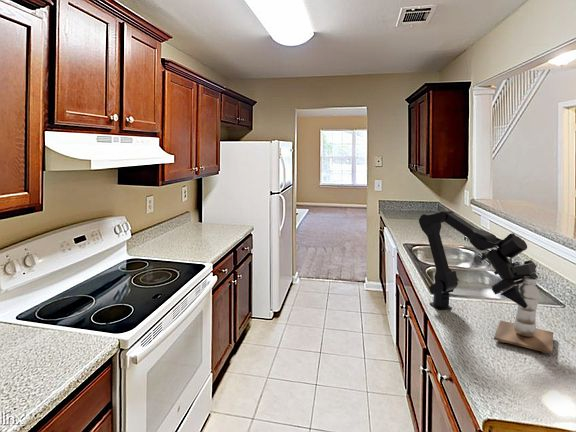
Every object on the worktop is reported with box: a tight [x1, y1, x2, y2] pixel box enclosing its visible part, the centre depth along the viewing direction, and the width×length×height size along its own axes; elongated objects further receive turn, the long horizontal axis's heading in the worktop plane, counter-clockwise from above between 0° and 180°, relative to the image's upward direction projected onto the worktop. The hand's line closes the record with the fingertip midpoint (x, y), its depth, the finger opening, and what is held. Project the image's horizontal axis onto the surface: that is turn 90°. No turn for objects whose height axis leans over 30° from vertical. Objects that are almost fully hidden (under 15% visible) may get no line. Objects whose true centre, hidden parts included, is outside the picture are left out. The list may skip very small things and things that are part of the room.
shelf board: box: [493, 320, 554, 355], centre depth 128 cm, size 16×16×2 cm
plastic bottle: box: [513, 276, 541, 337], centre depth 126 cm, size 6×7×20 cm
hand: (531, 305), depth 125 cm, fingers open, 6 cm apart
